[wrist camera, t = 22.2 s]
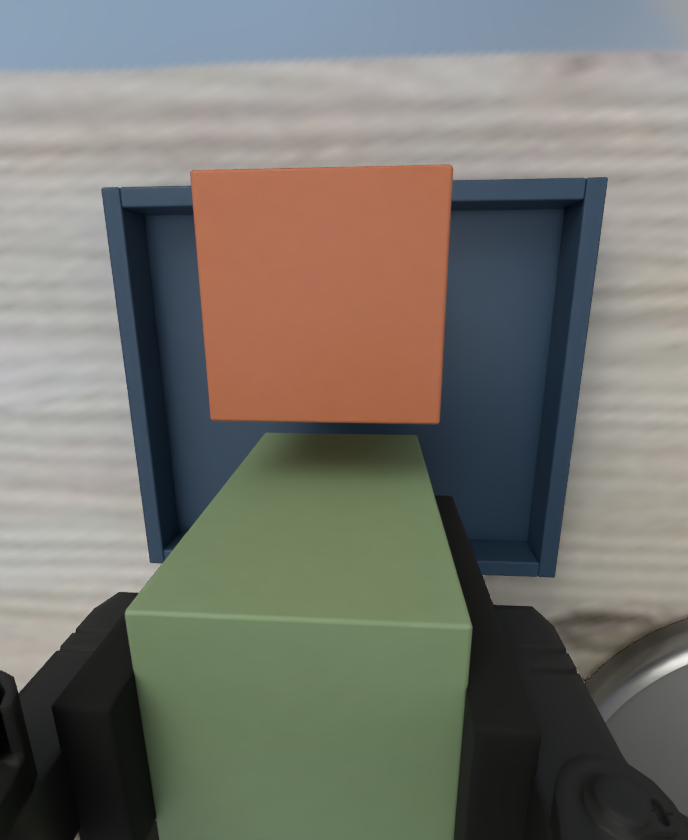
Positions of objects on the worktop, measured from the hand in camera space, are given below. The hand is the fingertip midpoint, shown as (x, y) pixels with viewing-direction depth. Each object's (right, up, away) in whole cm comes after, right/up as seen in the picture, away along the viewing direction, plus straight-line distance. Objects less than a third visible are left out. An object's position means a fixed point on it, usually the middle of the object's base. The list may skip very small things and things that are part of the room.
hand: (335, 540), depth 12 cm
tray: (0, +4, +5) cm, 7 cm away
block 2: (0, +1, +2) cm, 2 cm away
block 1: (0, +7, +4) cm, 8 cm away
